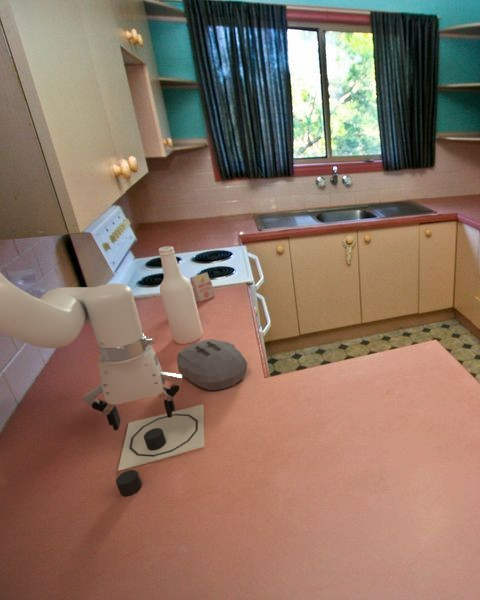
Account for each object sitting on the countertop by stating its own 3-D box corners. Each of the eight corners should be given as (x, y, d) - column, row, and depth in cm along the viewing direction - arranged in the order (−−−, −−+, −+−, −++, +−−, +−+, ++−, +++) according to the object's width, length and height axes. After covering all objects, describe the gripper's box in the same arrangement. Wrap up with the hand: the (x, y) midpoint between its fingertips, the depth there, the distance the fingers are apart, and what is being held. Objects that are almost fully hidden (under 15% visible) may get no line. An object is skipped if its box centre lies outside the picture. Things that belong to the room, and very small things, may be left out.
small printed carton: (193, 300, 164) (187, 276, 160) (209, 295, 169) (204, 271, 165) (198, 302, 162) (193, 278, 158) (214, 297, 167) (209, 273, 163)
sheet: (118, 471, 85) (117, 470, 85) (129, 423, 98) (128, 422, 98) (204, 447, 91) (204, 445, 90) (203, 405, 104) (203, 403, 104)
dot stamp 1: (118, 499, 79) (114, 487, 77) (121, 485, 82) (117, 473, 80) (140, 492, 80) (136, 480, 79) (143, 478, 83) (138, 467, 82)
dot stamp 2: (146, 452, 89) (142, 441, 88) (148, 441, 92) (144, 430, 91) (165, 447, 90) (162, 436, 89) (166, 436, 93) (163, 426, 92)
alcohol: (167, 342, 134) (141, 251, 122) (188, 330, 141) (165, 242, 130) (189, 346, 131) (165, 253, 119) (209, 333, 139) (188, 244, 127)
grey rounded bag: (171, 374, 117) (209, 402, 105) (164, 348, 113) (201, 373, 102) (222, 352, 127) (261, 374, 116) (216, 327, 124) (256, 347, 112)
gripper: (174, 331, 88) (190, 399, 95) (74, 347, 82) (99, 420, 88) (172, 347, 82) (189, 419, 88) (64, 366, 75) (91, 443, 82)
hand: (144, 419), depth 88 cm, fingers open, 9 cm apart
